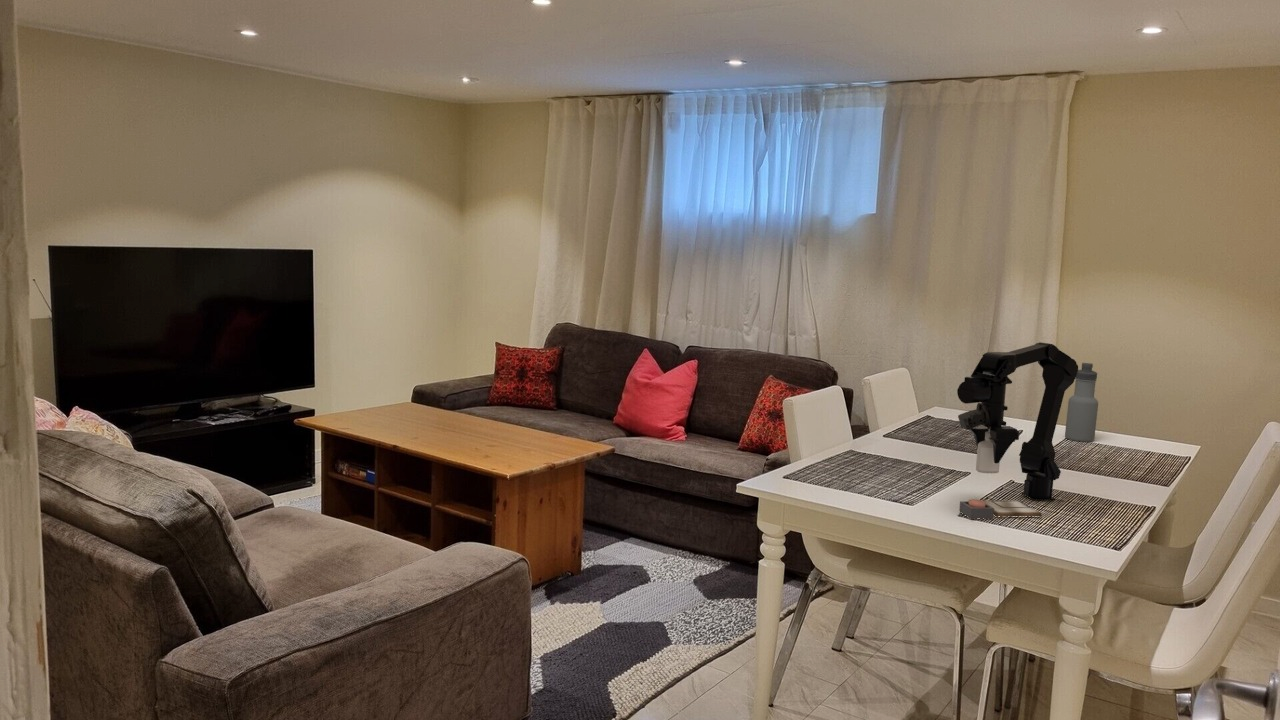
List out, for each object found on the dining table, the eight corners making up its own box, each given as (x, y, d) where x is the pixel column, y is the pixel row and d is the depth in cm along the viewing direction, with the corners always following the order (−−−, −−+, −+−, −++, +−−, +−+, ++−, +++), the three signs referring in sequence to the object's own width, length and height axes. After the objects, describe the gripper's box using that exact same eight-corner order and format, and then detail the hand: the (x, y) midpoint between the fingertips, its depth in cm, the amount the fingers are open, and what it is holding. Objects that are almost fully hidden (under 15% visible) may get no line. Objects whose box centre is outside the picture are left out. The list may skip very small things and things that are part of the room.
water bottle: (1064, 435, 341) (1072, 360, 337) (1094, 438, 337) (1102, 363, 333) (1064, 440, 332) (1072, 363, 328) (1094, 443, 328) (1102, 366, 324)
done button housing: (980, 512, 237) (982, 501, 236) (992, 519, 231) (994, 508, 231) (959, 512, 236) (960, 501, 236) (970, 519, 230) (971, 508, 230)
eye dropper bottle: (996, 475, 239) (1000, 430, 238) (974, 471, 242) (977, 427, 240) (999, 471, 243) (1003, 427, 241) (977, 468, 246) (981, 424, 244)
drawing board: (1017, 505, 245) (1018, 499, 245) (1041, 517, 234) (1041, 512, 234) (975, 505, 244) (976, 499, 243) (997, 517, 233) (997, 512, 233)
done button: (979, 506, 236) (980, 499, 235) (987, 511, 232) (988, 504, 231) (965, 507, 235) (965, 499, 235) (972, 511, 231) (973, 504, 231)
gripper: (947, 394, 248) (943, 450, 250) (980, 408, 230) (975, 468, 232) (987, 394, 249) (982, 450, 252) (1022, 408, 231) (1017, 468, 233)
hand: (988, 458), depth 242 cm, fingers closed on eye dropper bottle, 8 cm apart
